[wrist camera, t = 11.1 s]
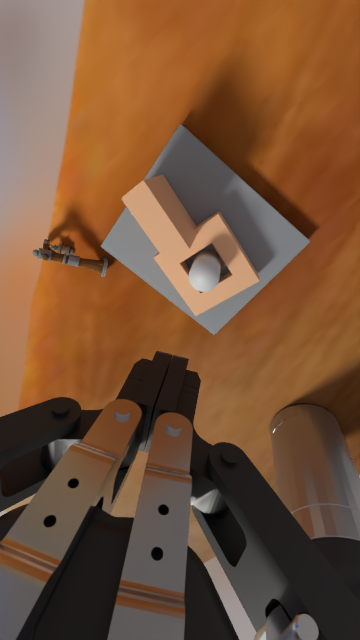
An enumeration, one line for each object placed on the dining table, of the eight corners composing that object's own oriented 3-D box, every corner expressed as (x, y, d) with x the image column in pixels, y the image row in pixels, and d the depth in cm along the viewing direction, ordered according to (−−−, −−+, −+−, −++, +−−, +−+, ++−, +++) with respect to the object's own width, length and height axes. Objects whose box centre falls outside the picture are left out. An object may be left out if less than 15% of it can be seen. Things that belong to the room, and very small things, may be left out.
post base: (308, 238, 34) (320, 254, 29) (214, 330, 41) (211, 356, 35) (182, 124, 31) (170, 119, 26) (104, 243, 38) (82, 258, 32)
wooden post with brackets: (37, 232, 38) (32, 247, 34) (106, 248, 41) (108, 264, 37) (35, 246, 38) (30, 262, 35) (102, 261, 41) (104, 278, 38)
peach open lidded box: (258, 274, 35) (263, 302, 28) (197, 308, 38) (189, 341, 31) (185, 156, 31) (171, 157, 24) (123, 205, 34) (96, 218, 27)
